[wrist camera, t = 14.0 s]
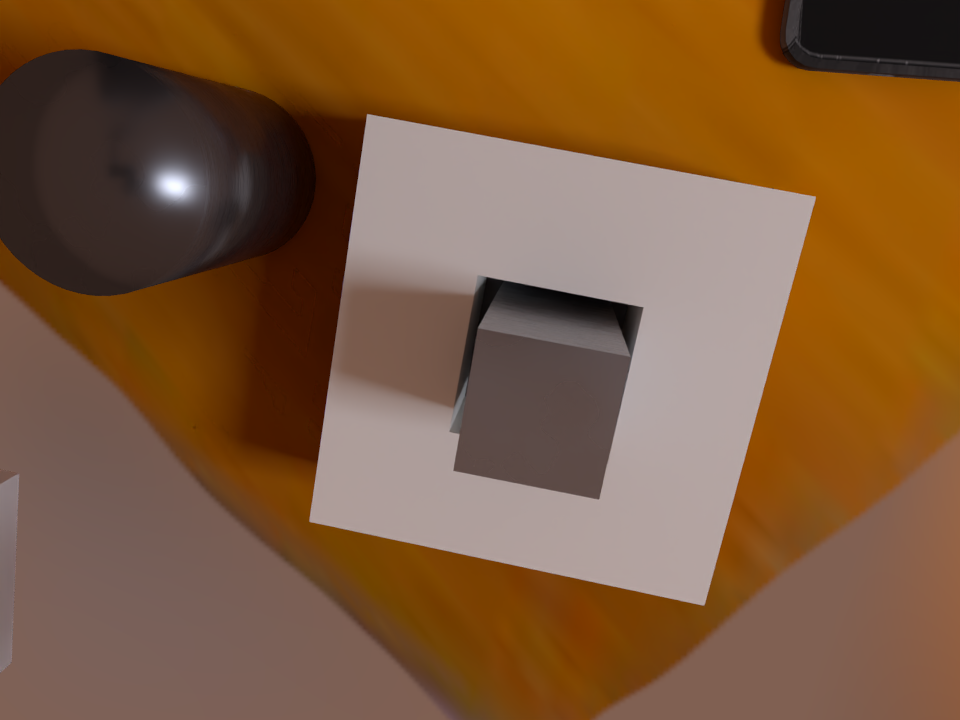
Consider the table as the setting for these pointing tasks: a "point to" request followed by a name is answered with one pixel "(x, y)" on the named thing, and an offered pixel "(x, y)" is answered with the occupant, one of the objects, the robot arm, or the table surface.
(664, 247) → the socket block
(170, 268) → the cylinder
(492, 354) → the square bit
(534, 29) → the table surface
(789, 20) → the phone
